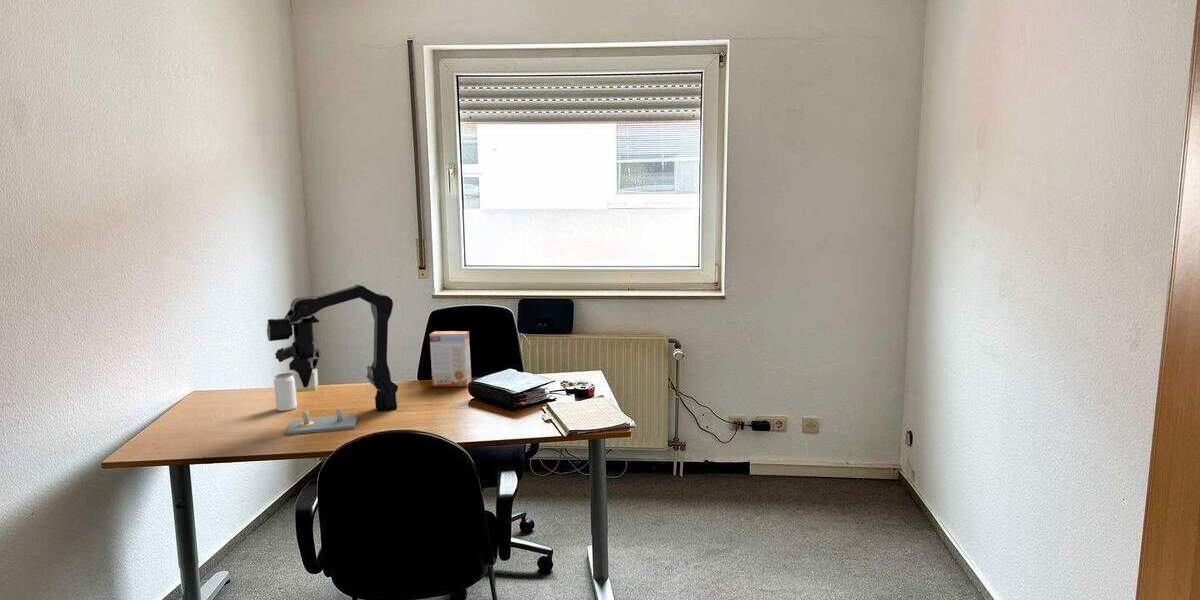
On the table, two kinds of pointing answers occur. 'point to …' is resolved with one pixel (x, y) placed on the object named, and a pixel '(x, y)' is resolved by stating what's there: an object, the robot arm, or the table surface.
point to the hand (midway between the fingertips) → (307, 384)
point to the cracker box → (450, 358)
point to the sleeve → (312, 383)
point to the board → (322, 423)
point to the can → (285, 392)
